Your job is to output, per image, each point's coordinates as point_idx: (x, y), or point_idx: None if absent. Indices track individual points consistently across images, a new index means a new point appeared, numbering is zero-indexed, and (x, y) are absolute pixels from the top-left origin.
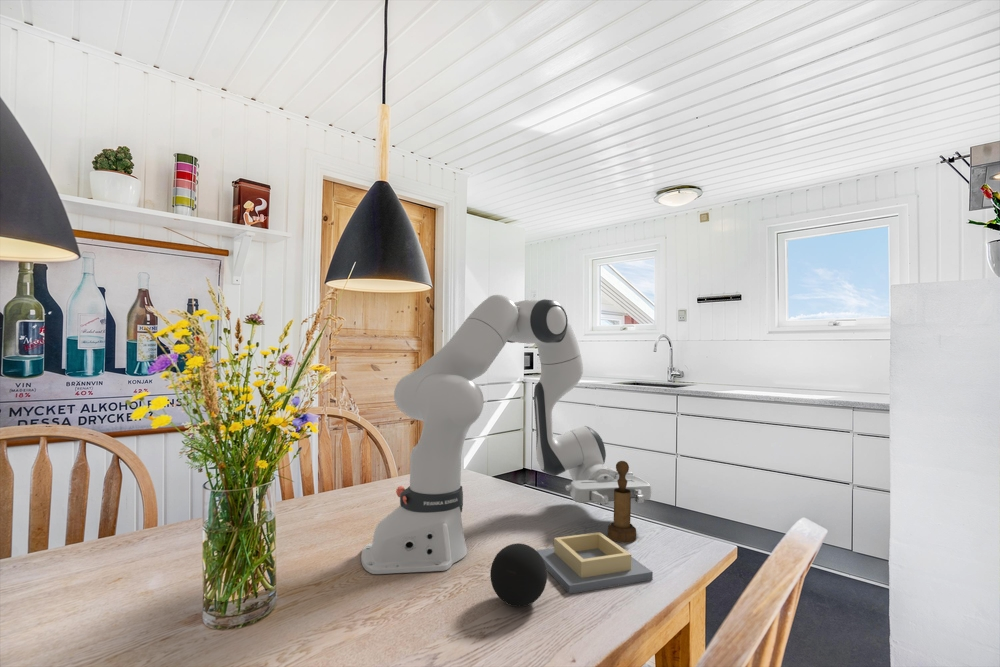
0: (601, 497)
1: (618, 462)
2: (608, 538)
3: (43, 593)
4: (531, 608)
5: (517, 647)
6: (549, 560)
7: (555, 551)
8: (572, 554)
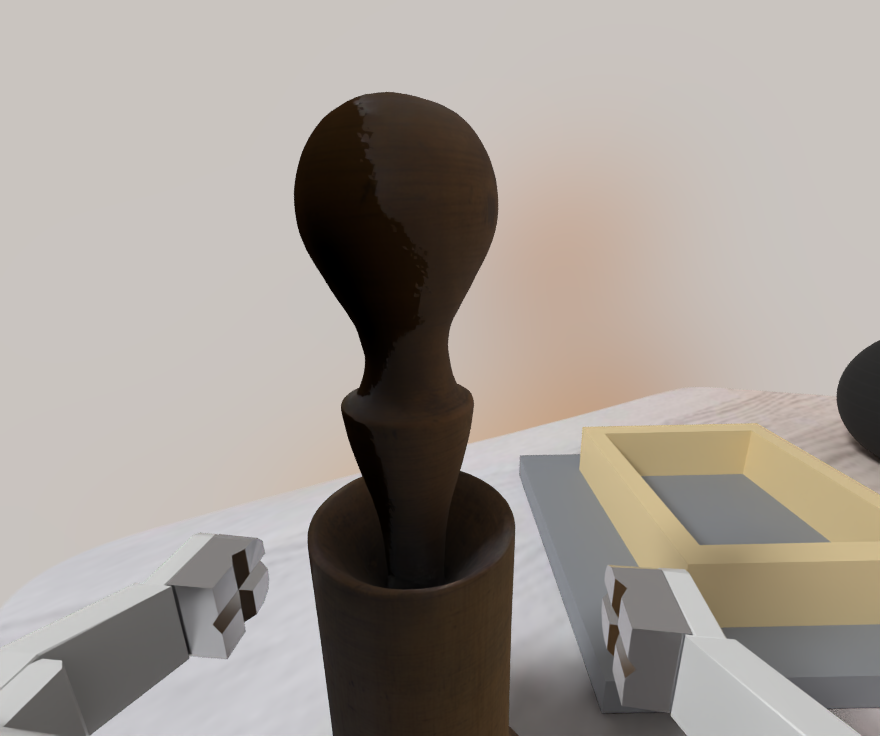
0: (696, 594)
1: (462, 119)
2: (644, 503)
3: None
4: (862, 451)
5: (834, 403)
6: None
7: None
8: (803, 451)
